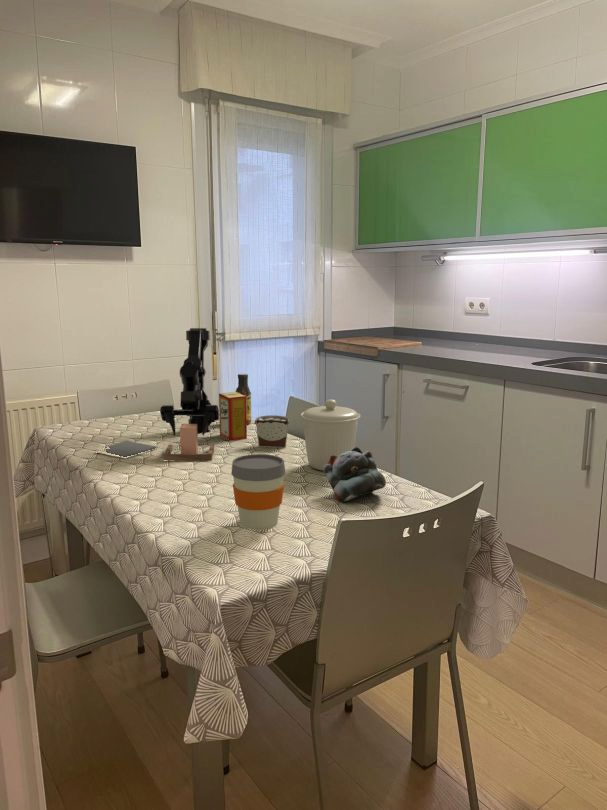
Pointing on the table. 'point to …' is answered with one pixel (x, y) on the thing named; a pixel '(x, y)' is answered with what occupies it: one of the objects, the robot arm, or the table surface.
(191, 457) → the walnut bay
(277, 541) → the table surface
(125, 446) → the rubber mat
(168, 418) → the robot arm
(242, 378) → the sauce bottle
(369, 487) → the grey stuffed animal
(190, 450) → the terracotta block
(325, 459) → the canister
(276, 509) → the reusable coffee cup
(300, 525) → the table surface
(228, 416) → the baking soda box
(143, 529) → the table surface
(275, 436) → the food container
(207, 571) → the table surface
